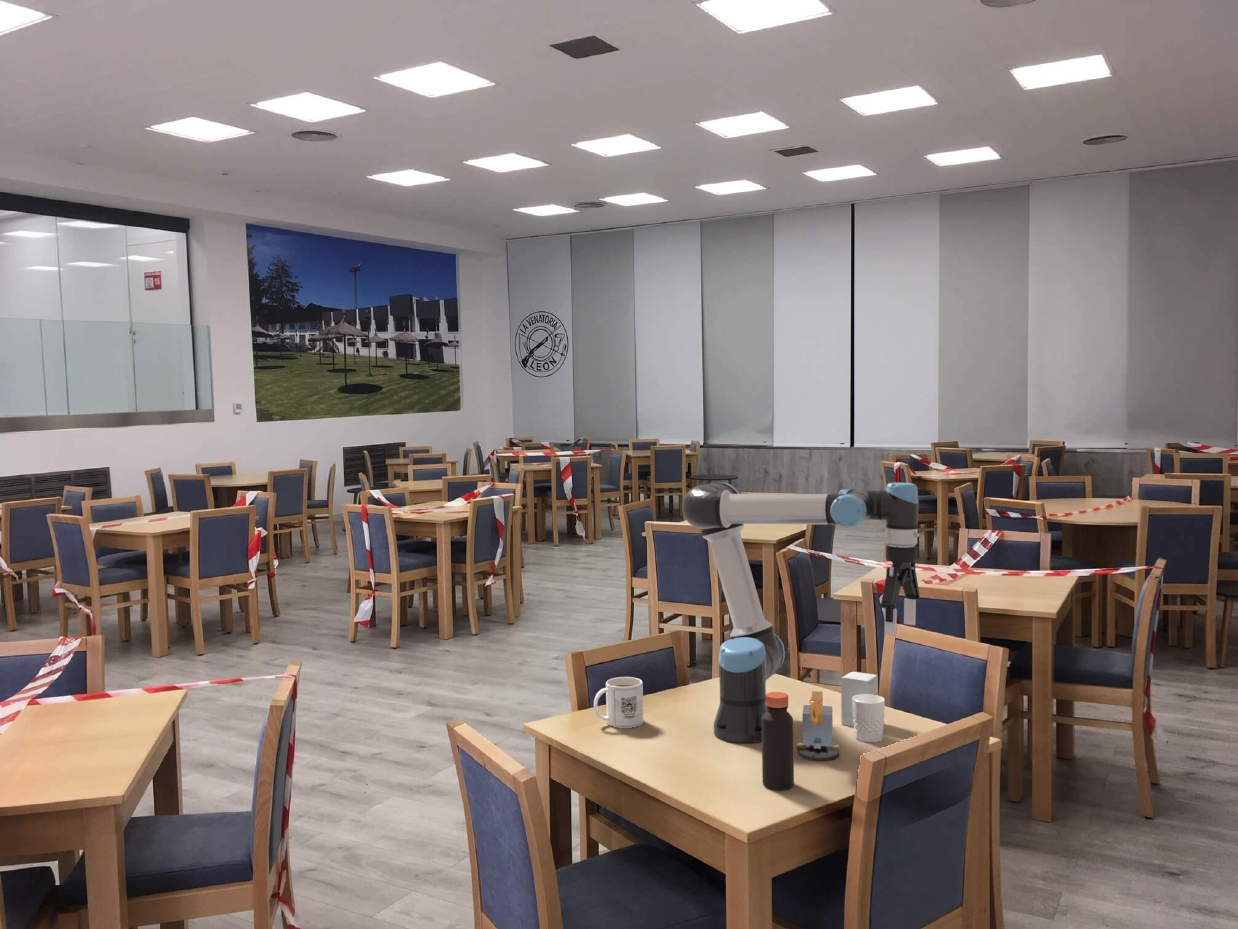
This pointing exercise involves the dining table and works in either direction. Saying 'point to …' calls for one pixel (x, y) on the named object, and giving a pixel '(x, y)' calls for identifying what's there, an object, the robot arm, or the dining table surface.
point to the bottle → (777, 743)
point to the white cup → (868, 717)
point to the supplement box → (855, 692)
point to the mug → (622, 702)
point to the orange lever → (817, 722)
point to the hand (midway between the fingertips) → (900, 629)
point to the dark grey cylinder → (818, 752)
